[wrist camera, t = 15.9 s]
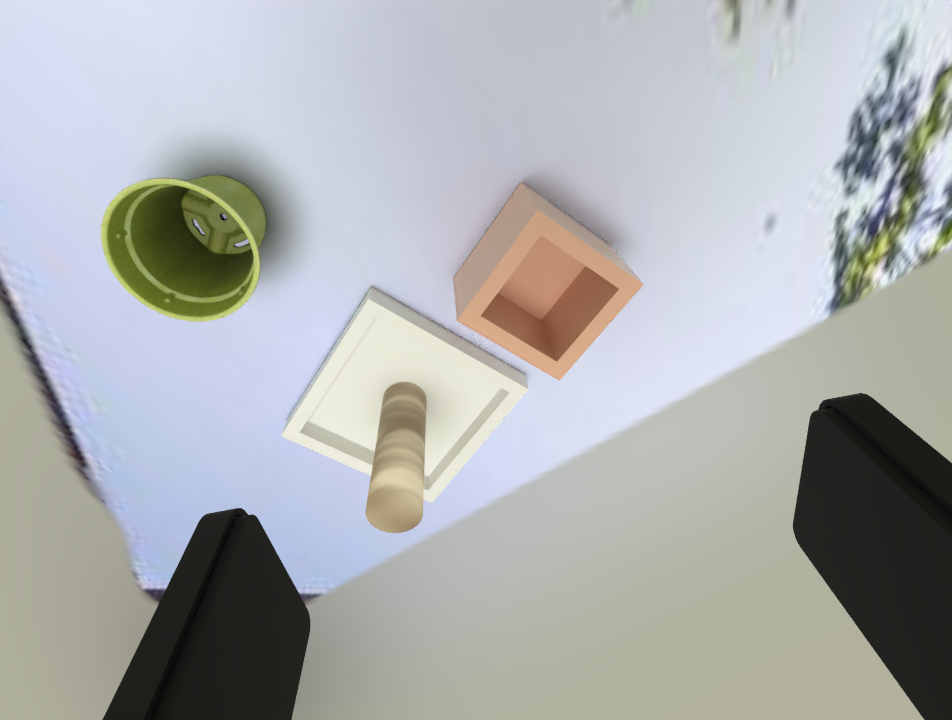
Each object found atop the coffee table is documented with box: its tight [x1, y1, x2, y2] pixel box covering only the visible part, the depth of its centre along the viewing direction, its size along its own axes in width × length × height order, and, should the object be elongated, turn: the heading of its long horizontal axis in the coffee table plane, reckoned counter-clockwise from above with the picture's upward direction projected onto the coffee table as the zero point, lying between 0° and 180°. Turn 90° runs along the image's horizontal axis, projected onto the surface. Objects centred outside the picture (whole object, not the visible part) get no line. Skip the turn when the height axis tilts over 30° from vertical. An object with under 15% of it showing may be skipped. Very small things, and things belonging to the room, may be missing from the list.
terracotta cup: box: [454, 182, 643, 380], centre depth 42 cm, size 9×9×8 cm
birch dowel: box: [366, 382, 427, 533], centre depth 45 cm, size 4×4×14 cm
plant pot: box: [101, 175, 266, 322], centre depth 38 cm, size 9×9×9 cm
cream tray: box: [281, 286, 528, 503], centre depth 50 cm, size 16×16×3 cm
